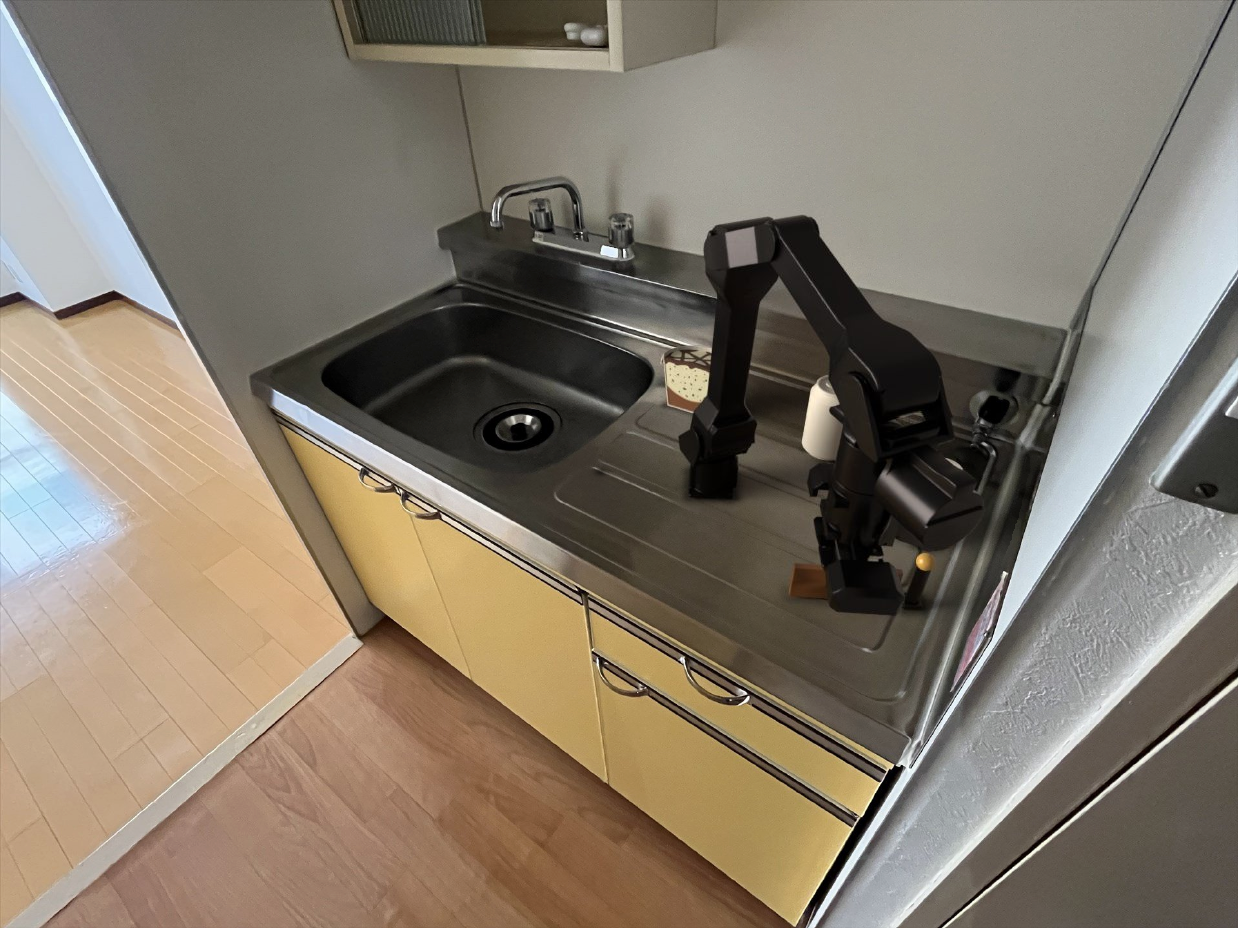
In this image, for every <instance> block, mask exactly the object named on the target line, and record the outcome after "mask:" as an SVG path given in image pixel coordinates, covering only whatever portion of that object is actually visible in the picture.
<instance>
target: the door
mask: <svg viewBox="0 0 1238 928" xmlns="http://www.w3.org/2000/svg"><path fill="white" fill-rule="evenodd" d="M896 569H897V571H898V575H899V578H900V581H901V582H902V580H903V577H904V572H903V569H901V568H896ZM790 578H791V579H790V583H789V587H788V596H789V597H796V598H797V597H798V598H812V599H813V598H815V599H828V596H827V590H826V574H825V571H824V569H823V568H822V566H821V564H815V563H814V564H813V563H799V562H798V563H797V562H795V563H793V567H792V573H791V577H790Z"/></svg>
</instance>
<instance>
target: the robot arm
mask: <svg viewBox="0 0 1238 928" xmlns="http://www.w3.org/2000/svg"><path fill="white" fill-rule="evenodd" d="M702 250H703V259H704V264H705V265H704V266H705V267H704V269H705V270H704V273H705V276H706V277H707V280H708V281H709V283H710V284H711V287H712V289H713V290H714V292H715V293H716V304H715V313H714V322H713V323H714V324H713V325H714V326H713V334H712V341H711V342H712V344H711V348H712V351H711V361H710V371H709V381H708V390H707V396H706V397H705V398H704V399H703V401H702V402H701V403H700V404H699V405H698V407H697V408H696V409H695V410H694V412H693V413H692V416H691V422H690V426H689V429H688V430H686V431H684V432H683V433H681V434H679V435H678V437H677V439H678V446H679V450H680V452H681V454H682V455H683V456H684V457H685V458H686V460H687V461H688V463H689V469H688V489H687V490H688V491H687V495H688V497H689V498H693V499H694V498H695V499H714V500H715V499H717V500H733V499H734V489H737V487H738V478H739V477H738V475H739V456H738V455H745V454H747V453H748V451H749V450H750V448H751V447H752V445H753V444H756V430H757V427H758V422H757V420H756V419H755V418H754V416H753V414H752V413H751V411H750V410H749V408H748V406H747V405H746V396H747V391H748V383H749V377H750V376H749V375H750V370H751V369H750V368H751V364H752V363H751V362H752V357H753V350H754V343H755V337H756V330H757V325H758V317H759V311H760V306H761V302H762V300H764V298H765V297H766V296H767V294H768V293H769V292H770V290H771V289H772V288H773V286H774V285H775V284H776V283H777V282H778V280H779V279H780V281H781V282H782V284H783V285H784V286H785V288H786V290H787V291H788V293H789V294H790V296H791V297H792V299H793V300H794V302H795V303H796V305H797V306H798V308H799V310H800V312H802V314H803V316H804V317H805V319H806V320H807V322H808V323H809V325H810V326H811V328H812V329H813V331H814V332H815V334H816V335H817V337H818V339H819V340H820V342H821V343H822V345H823V346H824V348H825V351H826V352H827V354H828V357H829V363H828V374H827V375H828V379H829V382H830V384H831V386H832V388H833V390H834V392H835V394H836V396H837V399H838V401H839V405H835V406H832V407H830V408H829V412H830V414H831V415H832V416H833V417H835V418H836V419H837V420H838V421H839V422H840V423H841V424H842V425H843V428H842V432H841V437H840V441H839V446H838V450H837V455H836V460H834V463H829V462H826V463H825V462H819V463H817V464H816V465H814V466H812V467H810V468H809V470H808V474H807V479H806V484H807V490H808V495H809V498H817V497H818V495H819V491H828V492H827V497H826V498H820V502H819V510H820V514H821V516H815V517H814V518H813V526H814V531H815V537H816V538H815V539H816V541H817V544H818V546H817V549H818V554H819V560H820V565H821V566H822V568H823V569H824V571H825V574H826V590H827V596H828V598H827V602H828V606H829V608H830V609H831V610H833V611H834V612H836V613H845V614H846V613H847V614H861V615H877V616H893V617H896V616H897V615H898V614H899V613H900V612H902V608H903V603H904V601H905V595H904V592H905V591H904V588H903V584H902V580H901V581H900V578H899V575H898V571H897V569H898V568H896V567H895V566H894V565H893V564H892V563H890V562H889V561H884V556H885V553H884V551H883V547H891V548H893V546H894V543H895V540H897V541H899V542H902V543H905V544H908V545H911V546H914V547H917V548H920V549H921V550H922V551H924V552H926V553H932V552H938V551H943V550H947V549H949V548H951V547H953V546H955V545H956V544H958V543H959V542H961V541H963V540H964V539H965V538H967V536H969V535H970V534H971V533H972V532H973V531H974V530H975V529H976V527H977V526H978V525H979V523H980V522H981V521H982V519H983V517H984V515H985V512H986V508H985V500H984V498H983V496H982V495H981V494H980V493H979V492H977V491H976V490H975V488H976V486H977V483H978V482H977V480H976V478H975V477H973V476H972V475H971V474H970V473H969V472H967V471H966V470H964V469H963V468H962V469H963V470H962V469H960V468H958V467H956V466H955V465H953V464H952V463H951V462H950V461H948V460H947V459H948V458H947V457H944V456H943V455H942V454H941V453H939V452H938V449H939V446H940V445H942V444H946V443H950V442H953V441H954V440H955V439H956V435H955V430H954V427H953V422H952V419H953V418H954V416H953V413H952V411H951V408H950V405H949V402H948V399H947V394H946V390H945V385H944V380H943V371H942V368H941V365H940V363H939V361H938V359H937V358H936V356H935V355H934V354H933V353H932V352H931V351H930V350H929V349H928V348H927V347H926V346H925V345H924V344H923V343H922V342H921V341H920V340H919V339H917V337H916V336H915V335H914V334H913V333H912V332H911V331H909V330H908V329H905V328H903V327H900V326H898V325H896V324H894V323H891V322H890V321H887V320H885V319H883V318H882V317H881V316H880V315H879V314H878V313H877V312H876V311H875V309H874V308H873V307H872V305H871V304H870V303H869V301H868V300H867V299H866V297H865V296H864V295H863V293H862V292H861V290H860V289H859V288H858V286H857V284H856V283H855V282H854V281H853V279H852V278H851V277H850V275H849V274H848V273H847V271H846V270H845V268H844V266H842V265H841V263H840V261H839V260H838V259H837V257H836V256H835V255H834V253H833V252H832V251H831V250H830V248H829V247H828V245H827V244H826V242H825V241H824V239H822V237H821V233H820V228H819V225H818V222H817V221H816V219H814V217H812V216H808V215H806V214H798V215H797V214H796V215H791V216H785V217H780V218H779V217H778V218H773V217H772V216H762V217H756V218H750V219H745V220H739V221H738V220H737V221H732V222H725V223H720V224H716V225H714V226H713V227H712V229H710V230H708V232H707V234H706V239H705V240H704V243H703V249H702ZM920 413H921V415H922V417H923V419H924V420H923V421H920V422H915V423H912V424H909V425H905V426H903V425H902V424H901V423H900V422H898V421H897V419H902V418H906V417H909V416H912V415H916V414H920ZM946 458H947V459H946Z"/></svg>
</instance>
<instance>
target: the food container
mask: <svg viewBox="0 0 1238 928" xmlns="http://www.w3.org/2000/svg"><path fill="white" fill-rule="evenodd" d="M711 351H712V347H709V346H704V345H695V344H694V345H693V344H692V345H691V344H689V345H681V346H676V347H673V348H670V349H668V350H666V351H665V352H663V353H662V356H661V358H660V364H663V371H664V382H665V383H664V384H665V393H666V403H667V404H666V405H667V406H669V407H671V408H675V409H678V410H681V411H684V412H687V413H691V414H693V412H694V410H695V409H696V408H697V407H698V405H699V404H700V403H701V402H702V401H703V399H704V398H705V397H706V396H707V390H708V381H709V371H710V361H711Z"/></svg>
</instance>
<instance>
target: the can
mask: <svg viewBox="0 0 1238 928" xmlns="http://www.w3.org/2000/svg"><path fill="white" fill-rule="evenodd" d="M835 405H839V401H838V399H837V396H836V394H835V392H834V390H833V388H832V386H831V384H830V382H829V379H828V374H825V375H824V376H823V375H822V376H821V377H819V378H818V379H817V380H816V383H815V384H813V386H812V387H811V389H810V393H809V399H808V405H807V410H806V416H805V422H804V427H803V434H802V439H801V444H802V448H803V449H804V450H805V451H806V452H807V453H808V454H809V455H810V456H812V457H813V458H815V459H818V460H822V461H831V462H832V461H835V460H836V455H837V450H838V446H839V441H840V437H841V432H842V428H843V425H842V424H841V423H840V422H839V421H838V420H837V419H836V418H835V417H833V416H832V415H831V414H830V412H829V408H830V407H832V406H835Z"/></svg>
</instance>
